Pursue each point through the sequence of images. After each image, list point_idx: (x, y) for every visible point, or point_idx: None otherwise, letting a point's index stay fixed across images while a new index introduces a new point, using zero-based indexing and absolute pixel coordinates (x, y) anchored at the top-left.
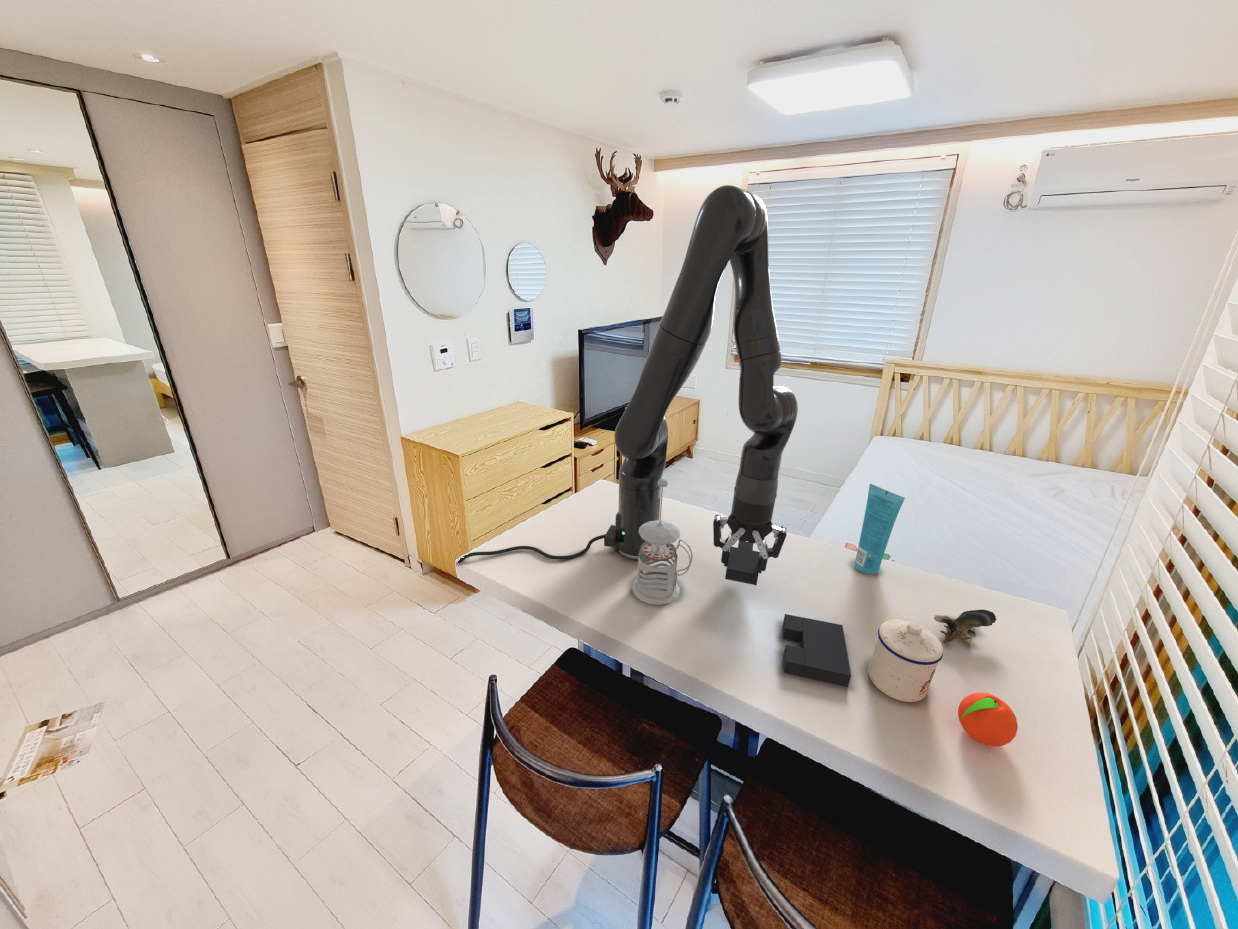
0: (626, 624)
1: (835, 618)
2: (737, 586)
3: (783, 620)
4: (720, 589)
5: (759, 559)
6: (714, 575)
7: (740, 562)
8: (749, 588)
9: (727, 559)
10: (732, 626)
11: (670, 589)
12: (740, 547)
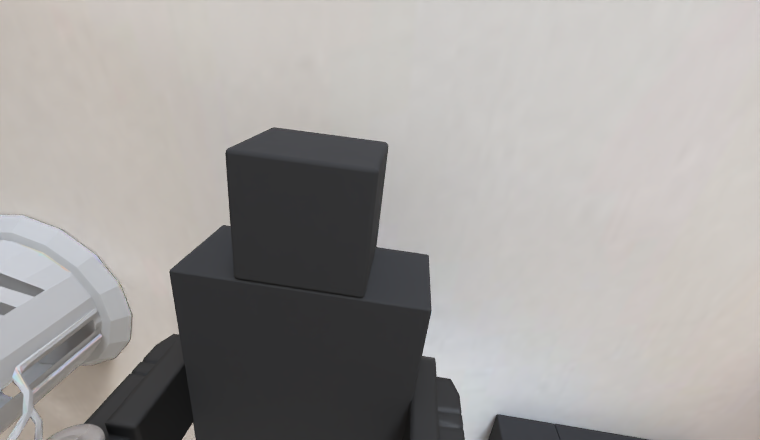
0: (53, 429)
1: (734, 378)
2: None
3: (499, 432)
4: None
5: (409, 412)
6: None
7: (275, 433)
8: (395, 247)
9: (186, 421)
10: None
11: (75, 365)
12: (254, 275)
